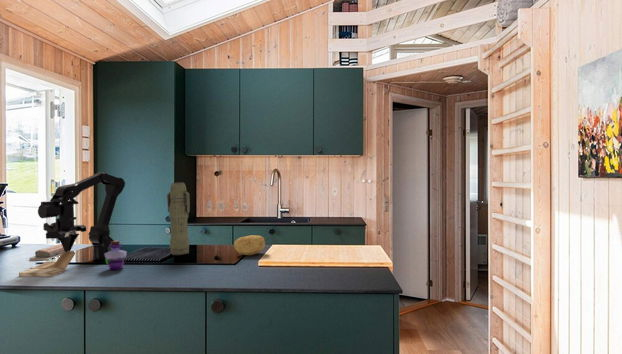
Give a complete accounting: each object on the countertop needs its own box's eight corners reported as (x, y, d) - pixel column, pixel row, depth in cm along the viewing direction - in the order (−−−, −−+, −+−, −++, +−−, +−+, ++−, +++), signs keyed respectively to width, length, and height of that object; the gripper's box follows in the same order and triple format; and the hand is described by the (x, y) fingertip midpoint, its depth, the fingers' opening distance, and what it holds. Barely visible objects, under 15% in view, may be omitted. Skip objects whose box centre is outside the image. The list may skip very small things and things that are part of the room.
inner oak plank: (75, 253, 179) (74, 251, 178) (64, 270, 172) (63, 267, 171) (64, 253, 179) (63, 251, 178) (53, 270, 172) (51, 267, 171)
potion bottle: (99, 270, 172) (99, 242, 172) (116, 265, 180) (115, 238, 180) (115, 272, 169) (114, 243, 168) (131, 267, 177) (130, 239, 176)
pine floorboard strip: (64, 271, 171) (63, 267, 171) (52, 276, 164) (52, 271, 164) (31, 271, 171) (31, 267, 171) (18, 276, 164) (18, 271, 164)
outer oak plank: (58, 264, 181) (58, 261, 180) (43, 271, 171) (43, 268, 171) (47, 264, 181) (47, 261, 181) (32, 271, 172) (32, 268, 172)
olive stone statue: (173, 250, 209) (171, 182, 208) (194, 251, 207) (193, 182, 205) (163, 254, 200) (162, 183, 199) (186, 255, 198) (184, 182, 197)
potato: (263, 257, 193) (263, 236, 193) (233, 257, 193) (232, 237, 193) (266, 252, 203) (266, 233, 203) (237, 252, 204) (237, 233, 203)
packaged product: (55, 243, 210) (73, 243, 209) (55, 252, 210) (74, 253, 209) (28, 250, 192) (48, 251, 191) (28, 261, 192) (49, 261, 191)
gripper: (62, 212, 187) (63, 246, 187) (32, 218, 168) (34, 256, 169) (86, 212, 186) (87, 246, 187) (58, 218, 167) (60, 256, 168)
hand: (67, 251), depth 178 cm, fingers closed
